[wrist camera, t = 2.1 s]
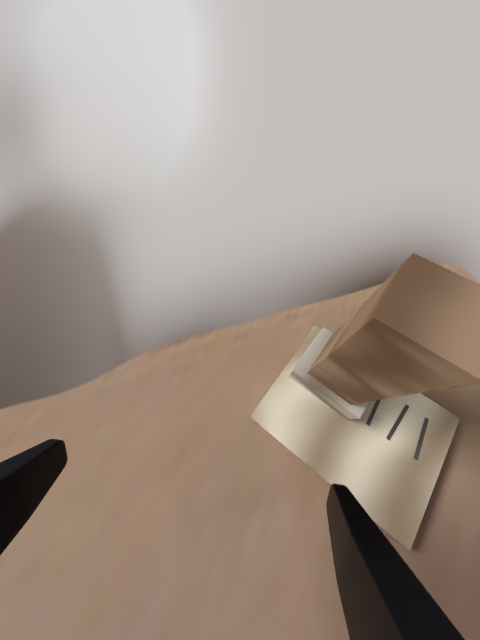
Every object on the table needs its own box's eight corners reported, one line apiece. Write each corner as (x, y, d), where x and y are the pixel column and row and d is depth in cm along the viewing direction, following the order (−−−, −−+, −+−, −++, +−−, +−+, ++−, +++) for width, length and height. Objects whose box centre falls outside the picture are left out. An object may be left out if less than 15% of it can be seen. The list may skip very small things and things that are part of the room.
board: (448, 418, 21) (460, 418, 19) (399, 543, 17) (410, 551, 16) (311, 329, 24) (314, 325, 23) (249, 416, 21) (250, 416, 20)
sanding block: (372, 373, 21) (545, 305, 9) (346, 419, 20) (513, 414, 7) (315, 336, 23) (395, 235, 11) (288, 376, 21) (344, 312, 9)
